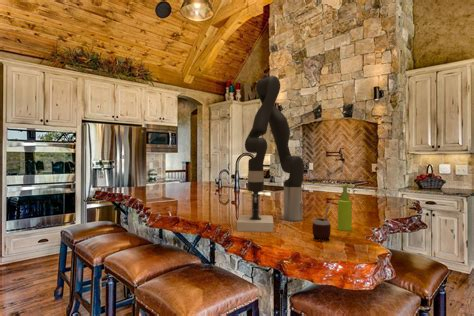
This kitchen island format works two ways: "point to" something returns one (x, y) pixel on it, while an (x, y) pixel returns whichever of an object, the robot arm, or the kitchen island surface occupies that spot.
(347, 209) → the soap dispenser
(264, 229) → the socket block
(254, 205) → the peg
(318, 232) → the mate gourd
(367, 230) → the kitchen island surface
